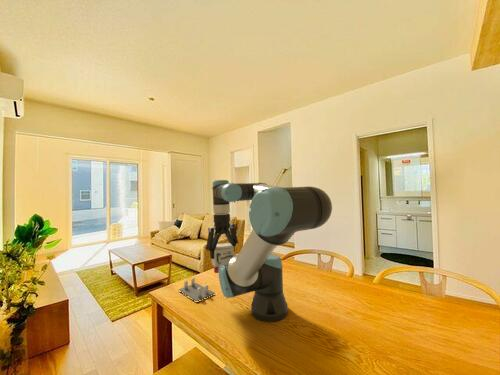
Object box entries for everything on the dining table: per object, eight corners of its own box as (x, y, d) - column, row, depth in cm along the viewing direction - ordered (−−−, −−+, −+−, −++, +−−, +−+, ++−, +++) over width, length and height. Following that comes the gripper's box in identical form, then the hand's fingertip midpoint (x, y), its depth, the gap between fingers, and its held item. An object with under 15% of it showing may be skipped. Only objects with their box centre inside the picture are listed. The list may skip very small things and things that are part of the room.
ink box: (214, 273, 95) (213, 246, 95) (213, 269, 100) (212, 244, 100) (233, 271, 97) (232, 245, 97) (231, 267, 102) (230, 242, 102)
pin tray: (214, 294, 104) (214, 284, 104) (196, 303, 97) (196, 292, 97) (196, 284, 116) (195, 275, 116) (178, 291, 109) (178, 281, 109)
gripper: (234, 210, 109) (235, 255, 109) (196, 215, 94) (197, 267, 93) (244, 211, 104) (246, 257, 104) (206, 216, 88) (207, 271, 88)
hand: (223, 262), depth 99 cm, fingers closed on ink box, 9 cm apart
